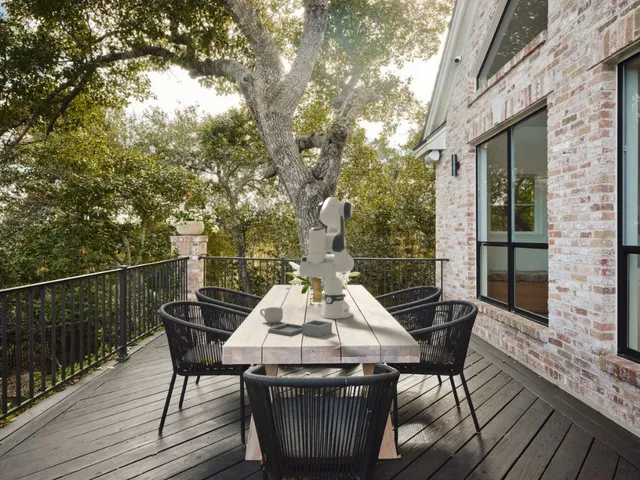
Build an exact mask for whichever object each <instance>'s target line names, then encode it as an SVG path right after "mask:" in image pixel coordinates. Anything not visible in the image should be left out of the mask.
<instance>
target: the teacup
mask: <svg viewBox="0 0 640 480" xmlns="http://www.w3.org/2000/svg"><path fill="white" fill-rule="evenodd" d="M283 310H284V308H282V307H279V306H277V307H276V306H273V307H272V306H271V307H266V308H261V309H260V310H259V313H260V315H261V316H262V317H263V318H264V321H265V322H267V323H268V324H270V325H271V324H272V325H273V324H279V323H280V322H281V321H283V317H284V315H283V314H284V313H283V312H284V311H283ZM263 311H264V313H263Z"/></svg>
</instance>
